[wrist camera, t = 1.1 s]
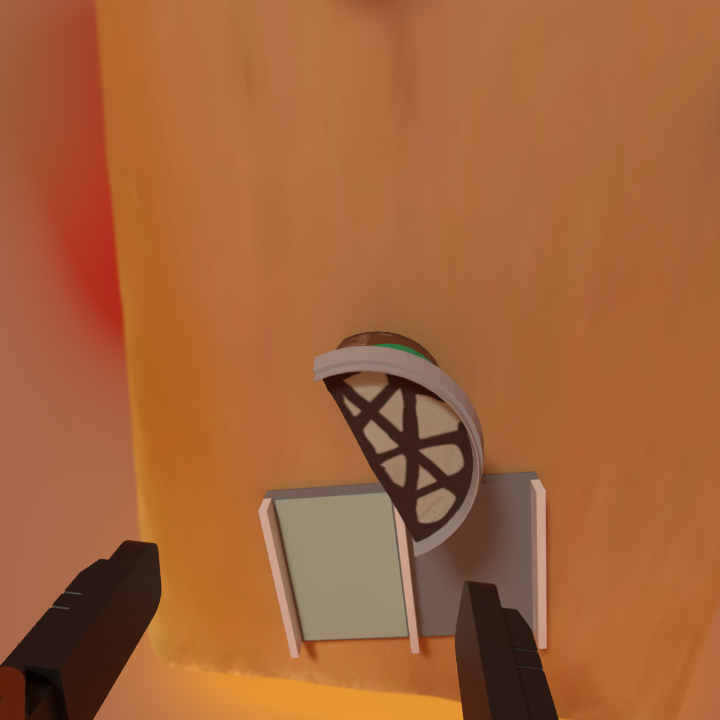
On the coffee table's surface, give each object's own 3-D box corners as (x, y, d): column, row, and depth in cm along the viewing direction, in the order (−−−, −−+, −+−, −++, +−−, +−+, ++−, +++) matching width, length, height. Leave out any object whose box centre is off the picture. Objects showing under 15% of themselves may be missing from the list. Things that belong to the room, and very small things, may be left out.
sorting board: (535, 471, 35) (545, 491, 32) (537, 621, 39) (546, 648, 36) (267, 491, 37) (258, 511, 34) (297, 631, 41) (291, 657, 39)
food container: (491, 434, 34) (529, 525, 24) (412, 466, 35) (419, 565, 26) (417, 278, 31) (427, 314, 21) (333, 320, 32) (308, 370, 23)
